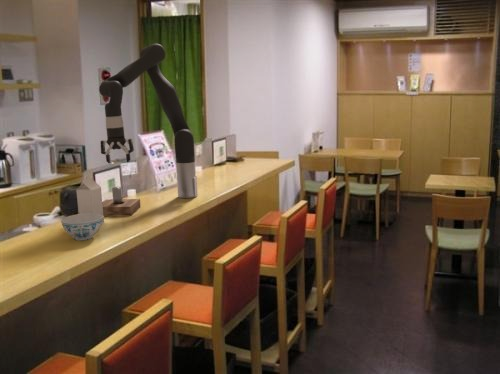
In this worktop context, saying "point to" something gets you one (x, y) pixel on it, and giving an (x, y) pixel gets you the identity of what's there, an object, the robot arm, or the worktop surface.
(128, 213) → the block
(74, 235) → the chinaware
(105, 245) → the worktop surface
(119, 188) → the grey upright bar
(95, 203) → the milk carton
